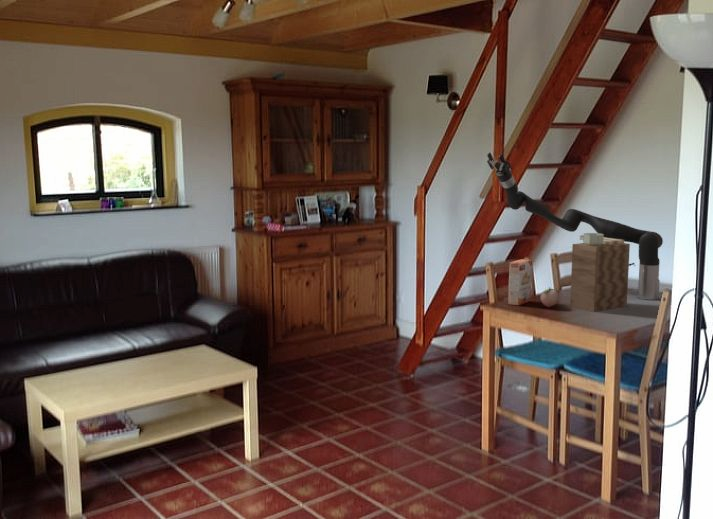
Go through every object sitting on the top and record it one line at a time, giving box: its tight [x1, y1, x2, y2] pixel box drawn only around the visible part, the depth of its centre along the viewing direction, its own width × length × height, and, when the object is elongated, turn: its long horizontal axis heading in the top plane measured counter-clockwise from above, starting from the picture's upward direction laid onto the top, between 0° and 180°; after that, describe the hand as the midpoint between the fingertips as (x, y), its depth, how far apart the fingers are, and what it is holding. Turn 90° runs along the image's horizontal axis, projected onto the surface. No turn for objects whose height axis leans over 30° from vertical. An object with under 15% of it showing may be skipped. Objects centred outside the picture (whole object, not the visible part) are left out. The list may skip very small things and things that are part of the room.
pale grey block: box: [582, 232, 604, 246], centre depth 340 cm, size 9×9×5 cm
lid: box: [579, 234, 625, 245], centre depth 351 cm, size 10×22×2 cm, turn 31°
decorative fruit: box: [539, 286, 560, 309], centre depth 344 cm, size 9×8×10 cm
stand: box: [569, 242, 631, 313], centre depth 345 cm, size 23×14×30 cm, turn 121°
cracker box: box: [507, 258, 533, 307], centre depth 354 cm, size 14×6×21 cm, turn 143°
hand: (494, 154), depth 382 cm, fingers open, 8 cm apart
